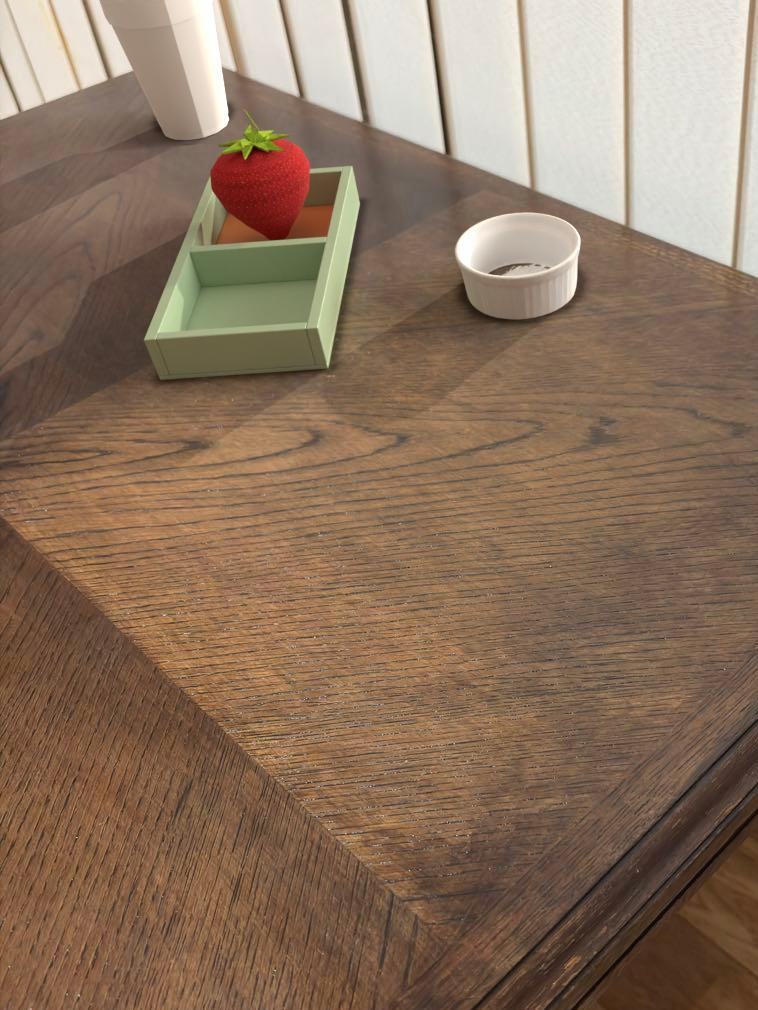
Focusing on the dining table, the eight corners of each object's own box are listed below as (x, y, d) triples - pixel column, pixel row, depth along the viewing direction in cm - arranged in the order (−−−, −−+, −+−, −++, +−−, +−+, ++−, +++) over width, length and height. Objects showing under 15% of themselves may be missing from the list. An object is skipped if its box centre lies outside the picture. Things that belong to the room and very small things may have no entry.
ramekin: (444, 323, 76) (436, 270, 73) (485, 257, 82) (479, 205, 79) (563, 338, 74) (560, 284, 71) (596, 269, 80) (594, 216, 77)
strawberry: (221, 238, 84) (181, 114, 77) (309, 209, 87) (279, 86, 79) (244, 271, 81) (205, 144, 73) (336, 240, 83) (307, 114, 76)
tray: (162, 388, 73) (143, 339, 70) (223, 221, 89) (209, 176, 86) (330, 376, 73) (317, 327, 70) (361, 210, 88) (352, 165, 85)
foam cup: (217, 94, 106) (176, -47, 97) (262, 123, 101) (224, -24, 92) (129, 127, 103) (78, -17, 93) (172, 158, 97) (122, 8, 88)
